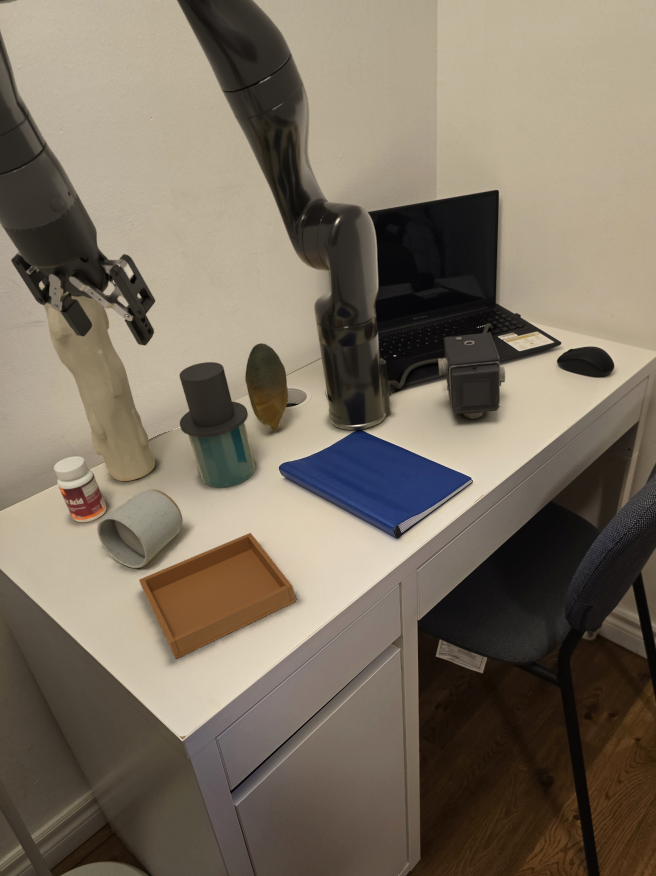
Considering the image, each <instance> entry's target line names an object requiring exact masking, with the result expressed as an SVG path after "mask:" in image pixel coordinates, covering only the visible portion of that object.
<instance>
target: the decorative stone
mask: <svg viewBox="0 0 656 876" xmlns="http://www.w3.org/2000/svg"><path fill="white" fill-rule="evenodd" d="M244 379H245V381H244V382H245V385H246V389H247V393H248V394H247V395H248V398H249V402H250V406H251V409H252V411H253V414H254V416H255V417H256V419H257V420H258V421H259V422H260V423H261V424H262V425H264V426H270V428H271V430H272V431H273V432H277V430H278V428H279V426H280V424H281V421H282V418H283V415H284V413H285V411H286V408H287V406H288V402H289V391H288V379H287V372H286V368H285V366H284V364H283V362H282V360H281V358H280V356H279V354H278V353H277V352H276V351H275V350H274V348H272V347H271V346H270V345H268V344H266V343H257V344H255V345H254V346H253V347H252V348H251V350H250V352H249V354H248V358H247V362H246V367H245V376H244Z"/></svg>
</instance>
